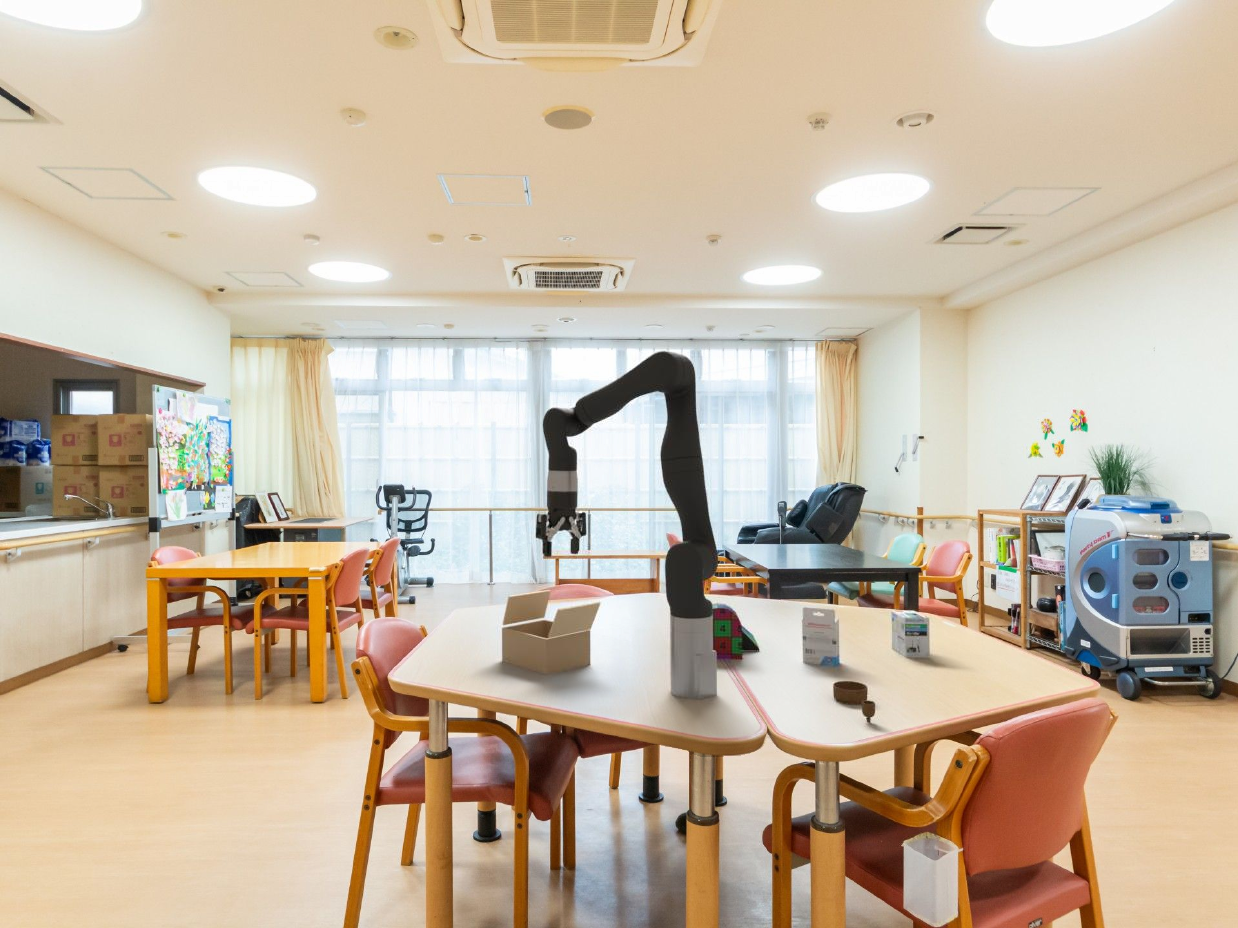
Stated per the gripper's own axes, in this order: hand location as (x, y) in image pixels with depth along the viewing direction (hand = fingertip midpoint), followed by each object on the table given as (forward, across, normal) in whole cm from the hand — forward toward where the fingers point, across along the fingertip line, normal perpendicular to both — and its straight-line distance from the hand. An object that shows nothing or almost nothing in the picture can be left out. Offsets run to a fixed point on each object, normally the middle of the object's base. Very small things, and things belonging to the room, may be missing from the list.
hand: (561, 555), depth 180 cm
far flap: (+19, 0, +15) cm, 24 cm away
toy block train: (+29, +48, -15) cm, 58 cm away
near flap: (+19, 0, -3) cm, 19 cm away
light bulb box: (+28, +79, -53) cm, 99 cm away
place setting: (+28, +24, -64) cm, 74 cm away
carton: (+29, 0, +6) cm, 30 cm away
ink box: (+28, +52, -42) cm, 72 cm away
